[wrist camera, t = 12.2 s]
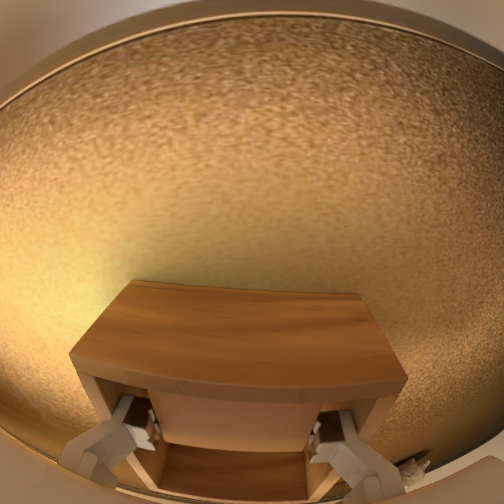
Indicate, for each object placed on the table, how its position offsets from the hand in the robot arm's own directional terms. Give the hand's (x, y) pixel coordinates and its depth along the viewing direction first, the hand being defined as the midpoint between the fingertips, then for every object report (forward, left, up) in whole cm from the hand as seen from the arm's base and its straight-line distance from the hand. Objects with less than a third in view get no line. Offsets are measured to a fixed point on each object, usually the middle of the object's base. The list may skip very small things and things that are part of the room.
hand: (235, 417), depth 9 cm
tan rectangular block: (0, 0, -2) cm, 2 cm away
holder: (+3, 0, -4) cm, 5 cm away
